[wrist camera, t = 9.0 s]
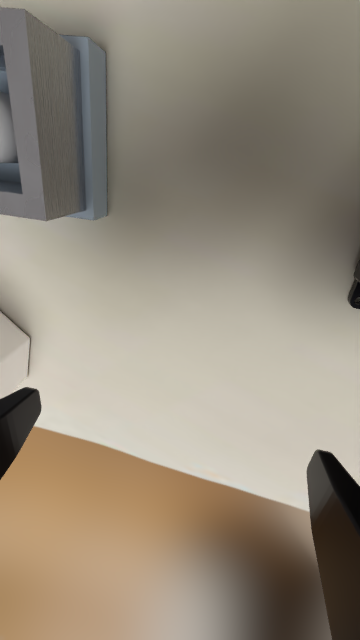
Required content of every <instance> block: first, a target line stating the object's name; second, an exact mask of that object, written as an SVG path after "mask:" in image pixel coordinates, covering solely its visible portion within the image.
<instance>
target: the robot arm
mask: <svg viewBox="0 0 360 640" xmlns="http://www.w3.org/2000/svg"><path fill="white" fill-rule="evenodd" d="M354 277H355V279H356V280H355V282H354V285H353V287H352V290H351V292H350V294H349V297H348V302H349V304H350V305H351V306H352V307H353V308H356V309H360V301H359V302H355V299H356V298H358V297H360V260H359V262H358V265H357V267H356V270H355V272H354ZM40 412H41V401H40V395H39V391H38V390H37V389H34V388H29V387H25V388H22V389H20V390H18V391H16V392H14V393H12V394H10V395H8V396H5V397H3V398H1V399H0V480H1V478H2V477H3V475H4V474H5V472H6V471H7V469H8V468H9V467H10V465H11V464H12V462H13V461H14V459H15V458H16V456H17V454H18V452H19V451H20V449H21V447H22V446H23V444H24V442H25V440H26V438H27V437H28V434H29V433H30V431H31V429H32V428H33V426H34V424H35V422H36V420H37V419H38V417H39V415H40ZM307 483H308V495H309V507H310V519H311V529H312V535H313V540H314V546H315V551H316V556H317V562H318V567H319V572H320V578H321V583H322V588H323V594H324V599H325V604H326V610H327V615H328V620H329V625H330V630H331V636H332V640H360V486H359V485H358V484H357V483H356V481H355V480H354V479H353V478H352V477H351V475H350V474H349V473H348V472H347V471H346V469H345V468H344V467H343V466H342V465H341V463H340V462H339V461H338V460H337V459H336V457H335V456H334V455H333V454H332V453H331V452H328V451H323V450H316V451H315V452H314V454H313V456H312V458H311V461H310V463H309V465H308V467H307Z"/></svg>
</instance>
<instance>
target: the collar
mask: <svg viewBox="0 0 360 640" xmlns="http://www.w3.org/2000/svg"><path fill="white" fill-rule="evenodd" d="M0 71H6V73H7V80H8V88H9V95H10V103H11V110H12V118H13V125H14V133H15V140H16V148H17V155H18V163H19V170H20V178H21V183H19V182H12V181H5V180H0V214H3V215H10V216H16V217H23V218H30V219H36V220H43V221H48V220H52V219H56V218H59V217H63V216H67V215H71V214H75V213H78V212H82V211H86V192H85V167H84V142H83V117H82V92H81V68H80V51H79V50H78V49H77V48H75V47H74V46H73V45H71V44H70V43H69V42H67V41H66V40H65V39H63V38H62V37H61V36H59V35H58V34H57V33H55V32H54V31H53V30H51V29H50V28H49V27H48V26H46V25H45V24H44V23H42V22H41V21H40V20H38V19H37V18H36V17H34V16H33V15H32V14H30V13H29V12H28V11H26V10H25V9H15V8H1V7H0Z"/></svg>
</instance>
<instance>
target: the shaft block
mask: <svg viewBox="0 0 360 640" xmlns="http://www.w3.org/2000/svg"><path fill="white" fill-rule="evenodd" d="M59 36H61V37H62V38H63V39H65V40H66V41H67V42H69V43H70V44H71V45H73V46H74V47H75V48H77V49H78V50H79V51H80V68H81V92H82V117H83V142H84V167H85V192H86V211H82V212H78V213H75V214H71V215H67V217H74V218H81V219H88V220H96V219H99V218H102V217H105V216H107V142H106V52H105V51H103V50H102V49H101V48H100V47H99V46H98V45H97V44H96V43H94V42H93V41H92V40H91V39H90V38H89V37H82V36H69V35H59ZM0 180H5V181H12V182H19V183H21V178H20V170H19V163H18V155H17V148H16V140H15V133H14V125H13V118H12V110H11V103H10V95H9V88H8V80H7V73H6V71H0Z"/></svg>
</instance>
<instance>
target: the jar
mask: <svg viewBox="0 0 360 640" xmlns="http://www.w3.org/2000/svg"><path fill="white" fill-rule="evenodd" d="M29 347H30V338H29V337H28V336H27V335H26V334H25V333H24V332H23V331H22V330H21V329H19V328H18V327H17V326H16V325H15V324H14V323H13V322H12V321H11V320H9V319H8V318H7V317H6V316H5V315H4V314H3V313H2V312H1V311H0V399H1V398H3V397H5V396H8V395H10V394H11V393H12V392H13V391H14V390H15V389H16V388H17V387H18V386H19V385H20V384H21V383H22V382H24V381H25V380H26V378H27V374H28V360H29Z"/></svg>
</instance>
